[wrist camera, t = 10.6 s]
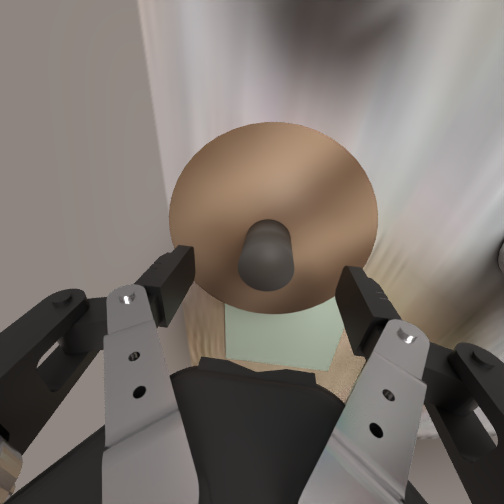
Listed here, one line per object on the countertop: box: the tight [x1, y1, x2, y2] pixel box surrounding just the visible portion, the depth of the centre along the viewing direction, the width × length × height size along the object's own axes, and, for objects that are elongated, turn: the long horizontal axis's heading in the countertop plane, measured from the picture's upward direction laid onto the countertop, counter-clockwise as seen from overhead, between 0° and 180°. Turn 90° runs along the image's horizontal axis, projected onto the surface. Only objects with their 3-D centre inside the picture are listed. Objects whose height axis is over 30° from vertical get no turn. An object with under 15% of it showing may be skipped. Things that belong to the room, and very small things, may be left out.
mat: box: [225, 296, 344, 371], centre depth 28 cm, size 15×15×1 cm
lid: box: [169, 122, 378, 314], centre depth 13 cm, size 14×14×4 cm
